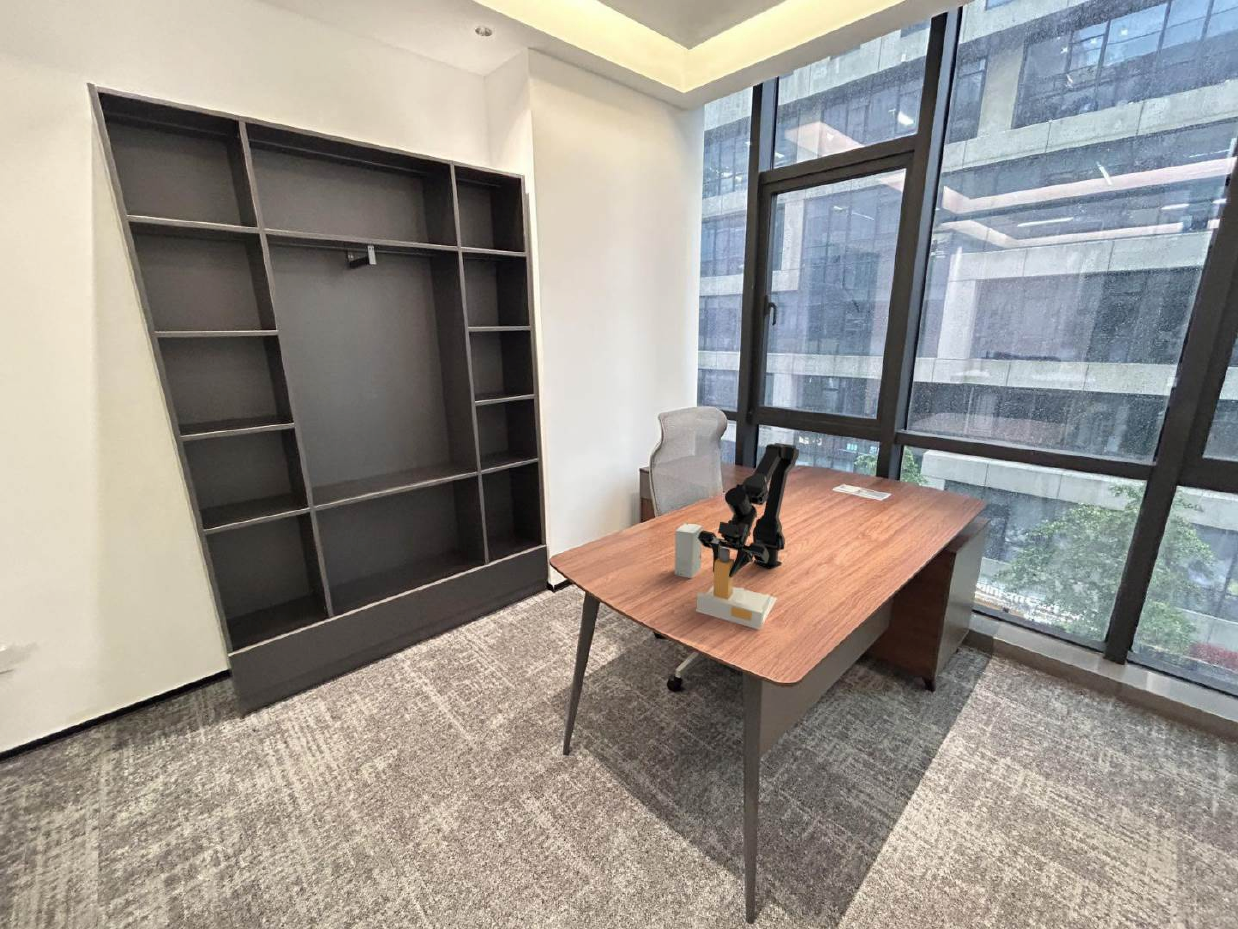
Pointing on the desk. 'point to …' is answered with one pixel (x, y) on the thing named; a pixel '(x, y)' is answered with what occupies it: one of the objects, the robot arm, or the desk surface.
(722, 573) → the orange plug
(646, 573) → the desk surface
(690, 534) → the skincare box
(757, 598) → the white ribbed tray
